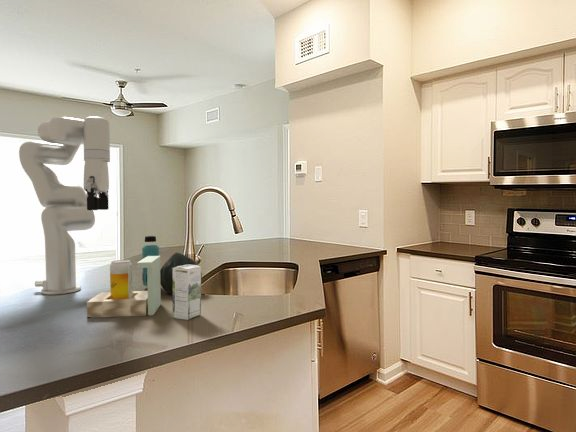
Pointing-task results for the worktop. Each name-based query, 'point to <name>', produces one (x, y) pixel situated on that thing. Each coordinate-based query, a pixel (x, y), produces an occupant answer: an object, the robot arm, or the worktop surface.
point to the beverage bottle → (149, 254)
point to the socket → (118, 305)
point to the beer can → (121, 279)
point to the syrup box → (186, 291)
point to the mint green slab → (152, 281)
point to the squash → (167, 270)
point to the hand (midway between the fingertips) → (98, 209)
